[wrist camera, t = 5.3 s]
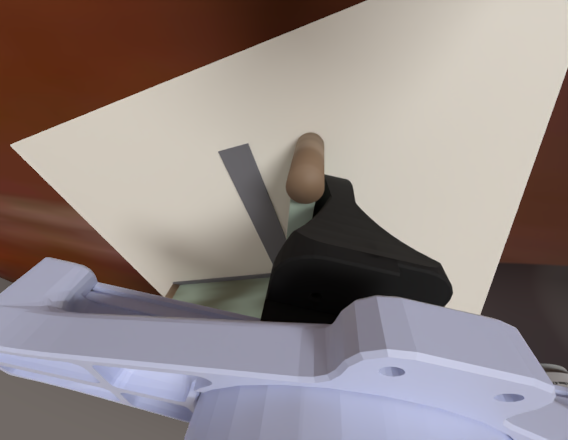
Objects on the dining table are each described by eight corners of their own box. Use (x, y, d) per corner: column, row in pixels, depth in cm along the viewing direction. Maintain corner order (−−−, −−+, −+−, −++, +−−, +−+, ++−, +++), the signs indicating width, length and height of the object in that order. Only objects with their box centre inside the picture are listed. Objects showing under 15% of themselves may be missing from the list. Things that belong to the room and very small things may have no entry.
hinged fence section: (300, 275, 18) (295, 326, 15) (282, 272, 18) (274, 322, 15) (326, 134, 11) (327, 172, 8) (297, 130, 11) (286, 167, 8)
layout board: (471, 325, 20) (474, 332, 20) (203, 329, 28) (201, 334, 28) (610, -98, 7) (632, -108, 6) (17, 142, 15) (7, 145, 14)
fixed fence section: (297, 271, 18) (291, 330, 14) (302, 283, 19) (297, 342, 15) (168, 283, 22) (137, 332, 18) (177, 293, 23) (149, 342, 19)
